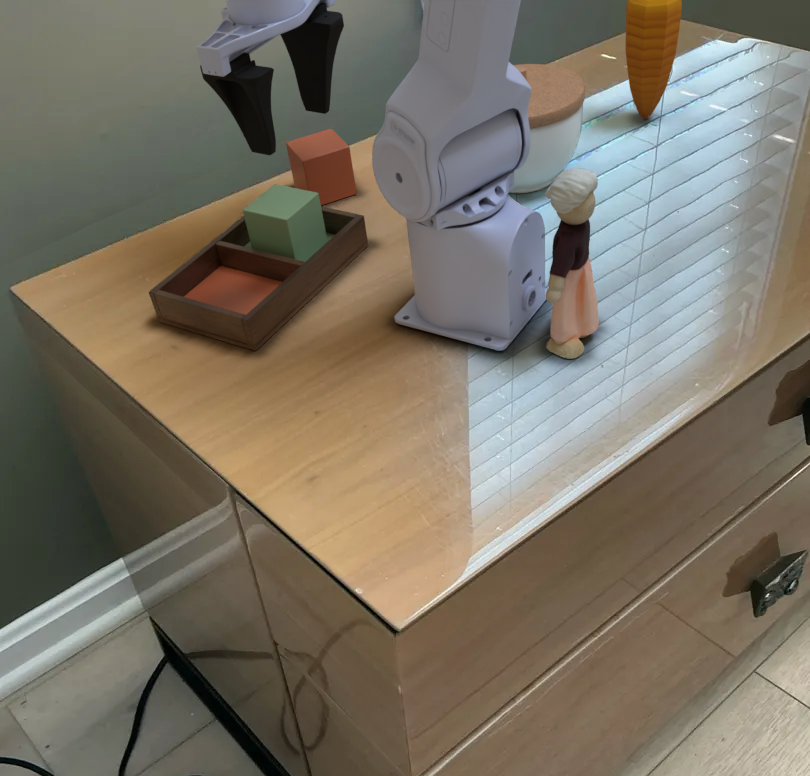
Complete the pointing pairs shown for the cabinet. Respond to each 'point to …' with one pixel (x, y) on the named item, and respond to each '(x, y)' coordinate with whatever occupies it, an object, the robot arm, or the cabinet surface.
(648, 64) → the carrot
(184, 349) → the cabinet surface
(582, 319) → the grandmother figurine
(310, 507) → the cabinet surface
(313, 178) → the terracotta block
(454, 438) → the cabinet surface
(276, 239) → the sage block
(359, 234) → the sorting tray
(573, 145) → the trinket box
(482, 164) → the robot arm
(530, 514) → the cabinet surface
